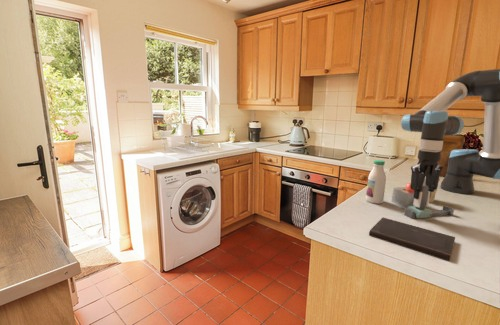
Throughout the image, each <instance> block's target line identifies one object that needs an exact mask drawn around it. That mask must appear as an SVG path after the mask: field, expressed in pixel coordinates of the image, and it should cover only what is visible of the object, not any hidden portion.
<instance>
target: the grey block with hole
mask: <svg viewBox="0 0 500 325" xmlns="http://www.w3.org/2000/svg"><path fill="white" fill-rule="evenodd" d="M390 202H391V203H393V204H395V205H397V206H399V207H402V208H403V209H405V208H408V206H414V205H413V203H414V192H412V193H410V192H408V191H406V186H405V187H404V186H402V187H393V189H392V195H391V201H390ZM425 208H427V207H425Z"/></svg>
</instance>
